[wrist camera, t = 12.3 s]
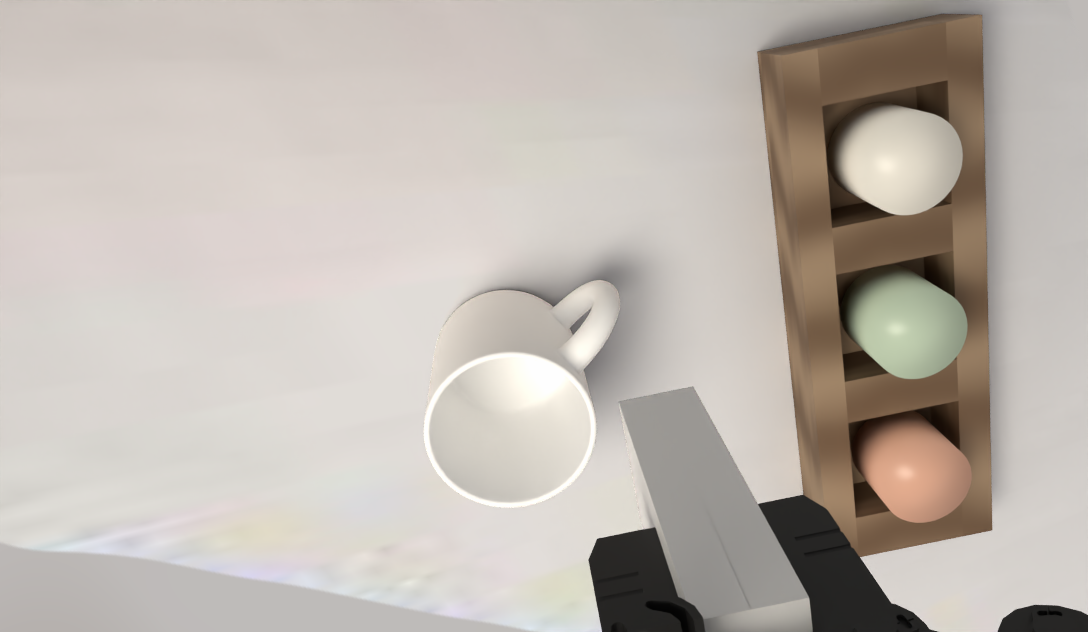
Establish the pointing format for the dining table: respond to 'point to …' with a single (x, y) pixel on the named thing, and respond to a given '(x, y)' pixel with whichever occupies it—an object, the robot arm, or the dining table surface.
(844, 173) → the white short cylinder
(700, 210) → the dining table surface
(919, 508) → the peach rounded piece
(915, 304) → the pale green rounded piece
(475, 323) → the mug
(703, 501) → the robot arm
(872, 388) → the wooden compartment tray
